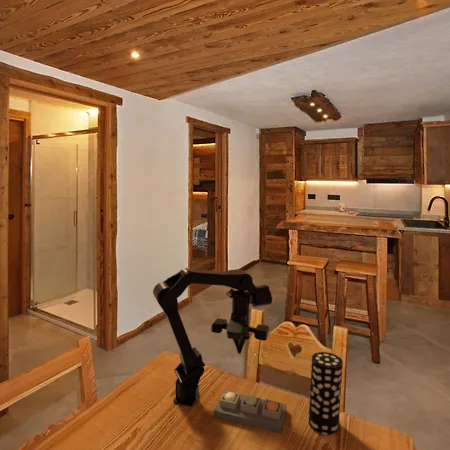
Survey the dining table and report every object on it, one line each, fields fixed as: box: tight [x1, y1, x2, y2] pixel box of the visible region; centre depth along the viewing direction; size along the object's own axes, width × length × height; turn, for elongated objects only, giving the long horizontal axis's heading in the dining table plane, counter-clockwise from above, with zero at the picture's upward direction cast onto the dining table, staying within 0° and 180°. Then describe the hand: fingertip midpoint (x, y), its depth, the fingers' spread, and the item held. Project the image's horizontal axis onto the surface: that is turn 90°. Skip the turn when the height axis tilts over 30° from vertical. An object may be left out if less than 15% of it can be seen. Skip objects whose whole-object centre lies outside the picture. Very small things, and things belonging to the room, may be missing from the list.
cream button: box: [224, 391, 236, 402], centre depth 105 cm, size 3×3×2 cm
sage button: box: [245, 394, 257, 407], centre depth 103 cm, size 3×3×2 cm
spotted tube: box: [308, 351, 344, 436], centre depth 98 cm, size 8×8×20 cm
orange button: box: [266, 400, 278, 412], centre depth 101 cm, size 3×3×2 cm
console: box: [213, 390, 287, 434], centre depth 103 cm, size 20×10×4 cm, turn 72°
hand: (239, 353), depth 115 cm, fingers closed
